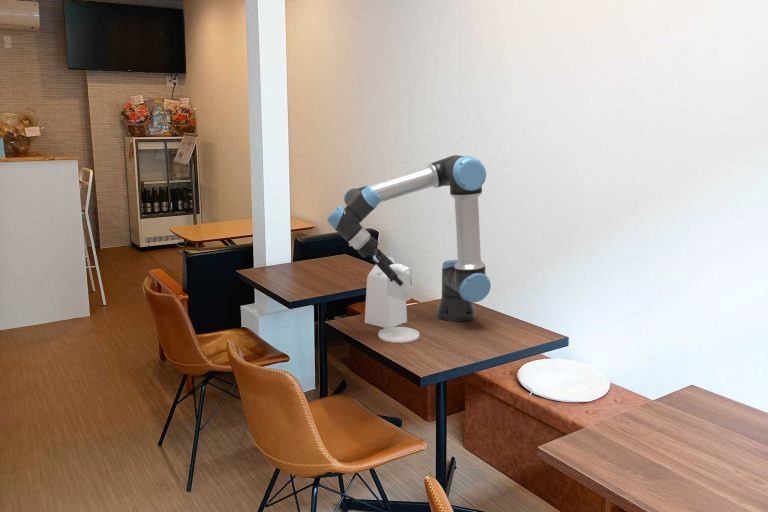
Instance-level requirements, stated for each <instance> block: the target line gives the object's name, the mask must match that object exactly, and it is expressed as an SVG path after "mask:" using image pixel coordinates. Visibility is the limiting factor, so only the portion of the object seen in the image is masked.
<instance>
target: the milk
mask: <svg viewBox="0 0 768 512" xmlns="http://www.w3.org/2000/svg"><path fill="white" fill-rule="evenodd" d="M386 257H387V258H389V259H390V260H391V261H392V262H393V263H394V264H396V263H395V259H394V257H390V256H386ZM366 278H367V279H366V289H365V290H366V291H365V292H366V294H365V309H364V310H365V313H364V323H365V324H368V325H373V326H377V327H379V328H383V329H384V328H389V327H398V326H399V324H400V325H402V323H403V324H405V323H408V313H407V311H408V309H407V301H404V300H400V299H396V298H393V297H390V296H388V294H387V276H386V275H385V273H384V272H383V271H382V270H381V269H380V268H379V267H378V266H377V265H376V264H375V265H374V266H373V268H372V269H371V270H370V272H369V273H368V274H367V277H366Z"/></svg>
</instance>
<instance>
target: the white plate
mask: <svg viewBox="0 0 768 512" xmlns="http://www.w3.org/2000/svg"><path fill="white" fill-rule="evenodd" d="M377 332H378V338H379V339H380V340H382V341H384V342H387V343H393V344H406V343H412V342H416V341H418V340H419V338H420V332H419V331H418V330H417V329H414V328H412V327H406V326H395V327H389V328H383V329H380V330H379V331H377Z"/></svg>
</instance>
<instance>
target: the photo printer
mask: <svg viewBox="0 0 768 512" xmlns="http://www.w3.org/2000/svg"><path fill="white" fill-rule="evenodd" d="M389 266H390V267H391V268H392V270H393V271H394V272H395V273H396V274H397V275H399V276H400V277H401V278H402V279H403V280H404V281H405V282H406V283H407V284H408V285H409V286H410V287H411V289H410V290H409V291H408V292H407V293H405V292H404V291H403V290H402V289H401V288H400V287H399V286H398V285H397V284H396V283H395V282H394V281H392V282H390V279H389V278H388V277H387V294H388V296H390V297H393V298H396V299H400V300H404V301H406V302H408V301H410V300H411V299H412V271H411V269H410V268H409V267H408V266H406V265H404V264H401V263H395V264H392V265H389ZM392 275H393V274H392ZM392 275H391V276H392Z"/></svg>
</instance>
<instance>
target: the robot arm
mask: <svg viewBox="0 0 768 512" xmlns="http://www.w3.org/2000/svg"><path fill="white" fill-rule="evenodd" d="M486 179H487V170H486V168H485V165H484V164H483V163H482V161H480V160H479V159H477V158H476V157H473V156H467V155H465V156H464V155H457V154H455V155H450V156H448V157H444V158H442V159H439V160H437V161H433V162H431V163H428V164H427V166H426V167H423V168H420V169H417V170H414V171H410V172H407V173H404V174H401V175H398V176H393V177H390V178H387V179H384V180H380V181H377V182H374V183H371V184H369V185H368V184H367V185H364V186H361V187H358V188H350V189H348V190H346V191H345V193H344V195H343V202H344V203H345V205H346V206H345V207H343V206H342V205H339V206H337V208H336V209H334V210H333V211H332V212H331V213H330V215H328V217H327V223H328V224H329V225H330V226H331V227H332V228H333V229H334V230H335V232H337V233H338V234H339V235H340V236H341V237H342V238H343V239H344V240H345V241H346V242H347V243H348V247H352V248H353V249H354V250H357V253H358V254H359V255H360V256H361V257H362V258H365V259H366V258H367V257H368V256H370V257H371V261H372V263H374V264H375V265H377V266H378V267H379V268H380V269H381V270H382V271H383V272H384V273H385V275H386V276H387V277H388V278H389V279H390V282H392V281H394V282H395V283H396V284H397V285H398V286H399V287H400V288H401V289H402V290H403V291H404V292H405V293H407V292H408V291H409V290H410V289H411V290H412V286H411V287H410V286H409V285H408V284H407V283H406V282H405V281H404V280H403V279H402V278H401V277H400V276H399V275H397V274H396V273H395V272H394V271H393V270H392V268H391V267H390V266H389V265H392V264H394V263H393V262H392V261H391V260H390V259H389V258H387V257H388V256H386V254H385V253H383V251H381V250H380V248H377V247H378V246H379V241H378V240H376V239H375V237H373V236H371V233H370V232H369V231H367V229H366V228H364V226H362V225H361V223H362V222H363V220H365V219H366V218H367V217H368V216H369V215H370V213H372V212H373V211H374V210H375V209H376V208H377V207H378V205H379V204H380V203H383V202H387V201H389V200H390V201H391V200H392V199H397V198H400V197H403V196H406V195H409V194H412V193H415V192H419V191H422V190H424V189H425V190H426V189H428V188H431V187H433V188H435V189H438V188H441V187H445V186H449V190H450V191H449V194H450V196H451V197H452V198H453V200H454V211H455V212H454V213H455V229H456V230H455V233H456V247H457V250H456V251H457V259H450V260H449V259H448V260H445V261H443V263H442V266H441V267H442V268H441V298H440V301H439V304H438V305H437V306H438V307H437V309H436V316H437V317H438V318H439V319H441V320H444V321H448V322H467V321H471V320H473V319H474V318H475V316H476V314H475V309H474V305H473V303H478V302H481V301H483V300H484V299H486V297H487V296H488V295H489V293H490V291H491V286H492V285H491V280H490V279H489V277H488V275H487V274H486V263H484V262H483V261H482V257H481V256H482V253H481V235H480V234H481V233H480V213H479V212H480V211H479V197H480V196H481V194H483V185H484V183H485V182H486ZM392 274H393V275H392ZM391 275H392V276H391Z"/></svg>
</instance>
